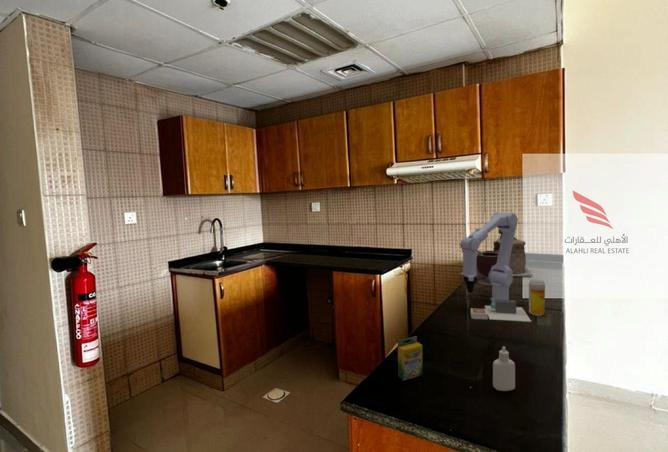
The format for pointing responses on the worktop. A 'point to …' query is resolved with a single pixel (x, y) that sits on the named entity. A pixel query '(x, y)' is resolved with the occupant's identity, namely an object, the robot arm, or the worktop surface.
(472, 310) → the button housing
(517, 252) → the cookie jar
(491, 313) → the white flat slab
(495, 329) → the worktop surface
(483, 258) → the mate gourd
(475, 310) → the button
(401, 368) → the crayon box
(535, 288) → the beer glass
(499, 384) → the eye dropper bottle
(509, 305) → the grey block
